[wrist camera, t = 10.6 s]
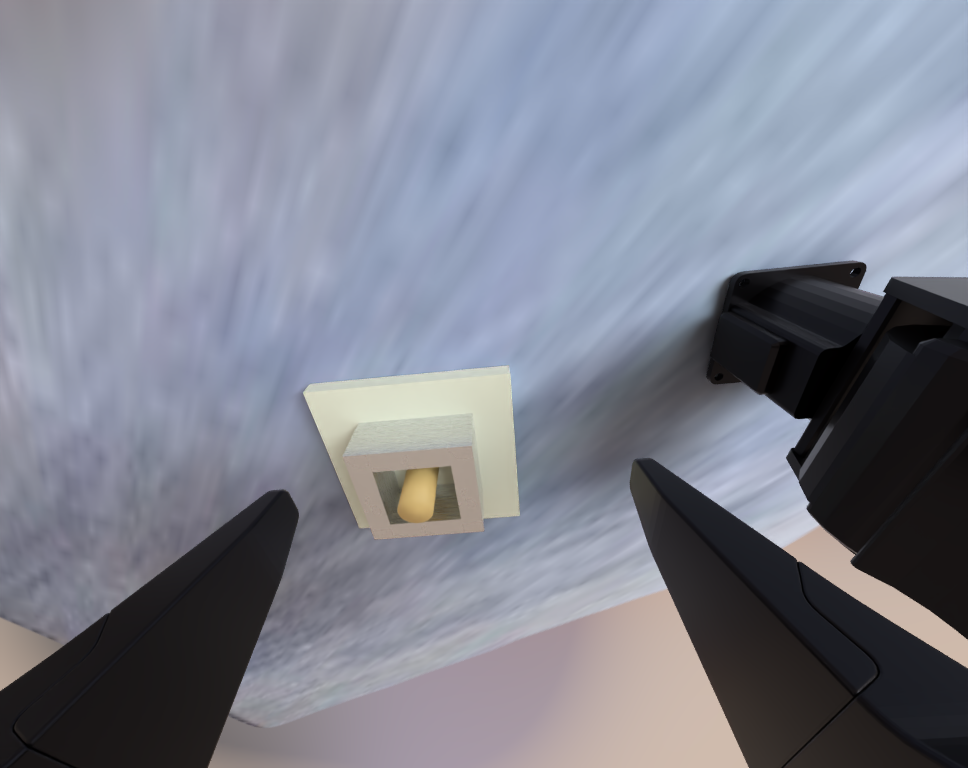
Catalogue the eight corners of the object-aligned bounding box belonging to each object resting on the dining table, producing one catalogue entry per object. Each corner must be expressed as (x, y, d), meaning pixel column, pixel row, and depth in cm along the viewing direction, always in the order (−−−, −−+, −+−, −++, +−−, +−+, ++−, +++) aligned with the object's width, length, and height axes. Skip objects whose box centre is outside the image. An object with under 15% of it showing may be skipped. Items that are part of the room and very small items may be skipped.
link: (472, 413, 21) (471, 445, 19) (483, 494, 25) (484, 531, 22) (358, 423, 22) (342, 456, 19) (385, 502, 25) (374, 539, 23)
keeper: (508, 365, 21) (517, 414, 17) (518, 504, 27) (526, 567, 23) (310, 384, 21) (267, 436, 17) (363, 517, 27) (342, 580, 23)
